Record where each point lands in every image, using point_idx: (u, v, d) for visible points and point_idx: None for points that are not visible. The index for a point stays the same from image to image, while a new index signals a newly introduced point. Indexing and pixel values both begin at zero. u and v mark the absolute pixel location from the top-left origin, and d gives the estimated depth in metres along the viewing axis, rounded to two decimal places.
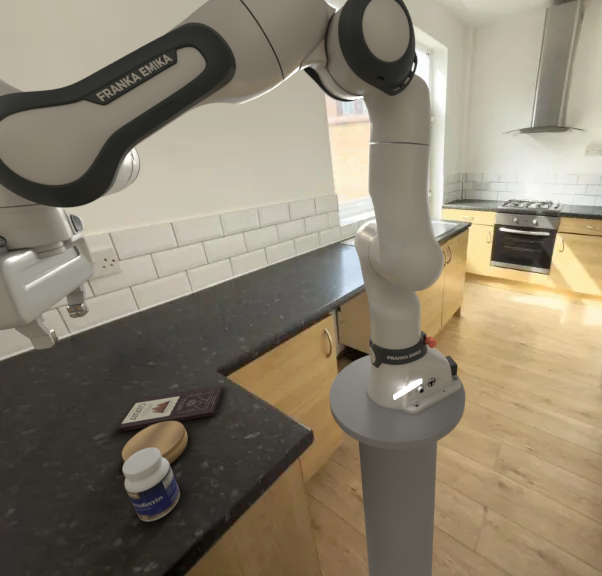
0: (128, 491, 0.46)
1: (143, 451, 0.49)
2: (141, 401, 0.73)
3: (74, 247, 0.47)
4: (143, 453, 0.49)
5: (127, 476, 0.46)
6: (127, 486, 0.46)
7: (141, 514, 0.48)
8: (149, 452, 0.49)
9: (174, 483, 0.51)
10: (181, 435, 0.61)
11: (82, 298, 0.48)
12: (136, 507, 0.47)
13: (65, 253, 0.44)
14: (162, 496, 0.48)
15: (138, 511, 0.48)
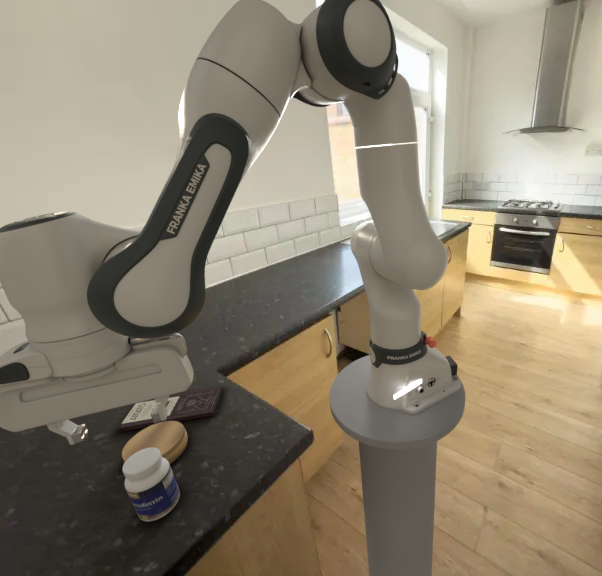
0: (128, 491, 0.46)
1: (143, 451, 0.49)
2: None
3: None
4: (143, 453, 0.49)
5: (127, 476, 0.46)
6: (127, 486, 0.46)
7: (141, 514, 0.48)
8: (149, 452, 0.49)
9: (174, 483, 0.51)
10: (181, 435, 0.61)
11: (72, 422, 0.43)
12: (136, 507, 0.47)
13: None
14: (162, 496, 0.48)
15: (138, 511, 0.48)
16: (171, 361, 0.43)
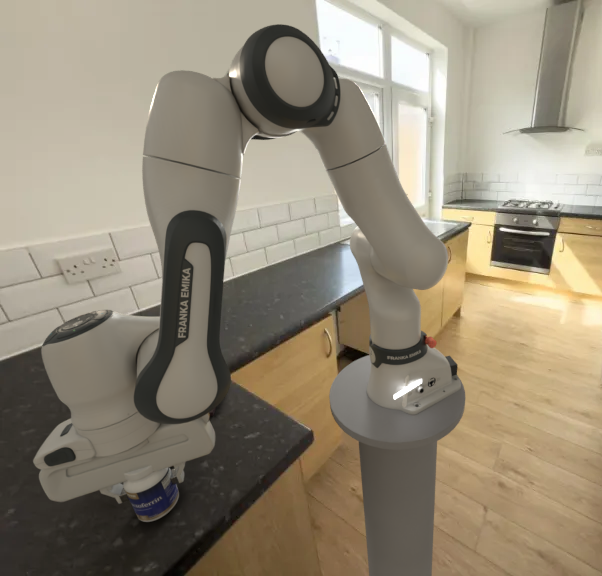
0: (127, 492, 0.46)
1: None
2: None
3: None
4: None
5: (126, 476, 0.46)
6: (126, 486, 0.46)
7: (140, 514, 0.48)
8: None
9: None
10: None
11: (119, 483, 0.48)
12: (135, 507, 0.47)
13: None
14: (161, 496, 0.48)
15: (137, 511, 0.48)
16: (196, 430, 0.48)
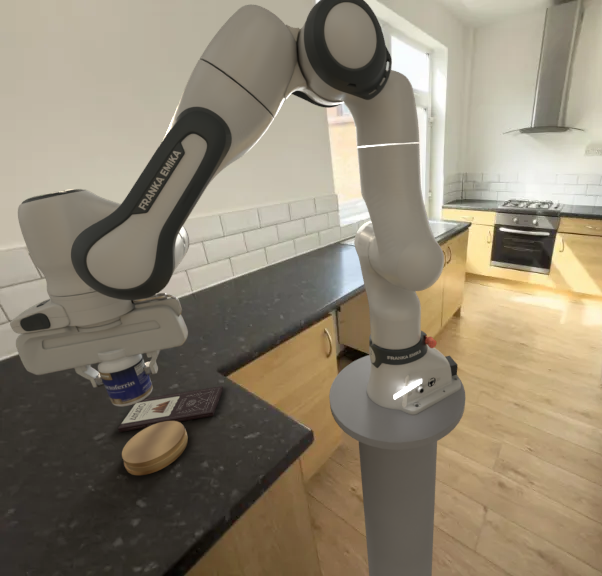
0: (101, 372, 0.49)
1: None
2: (141, 401, 0.73)
3: None
4: None
5: (100, 356, 0.48)
6: (100, 367, 0.49)
7: (114, 398, 0.51)
8: None
9: None
10: (181, 435, 0.61)
11: (94, 369, 0.51)
12: (109, 390, 0.50)
13: None
14: (134, 382, 0.51)
15: (111, 395, 0.51)
16: (168, 318, 0.51)
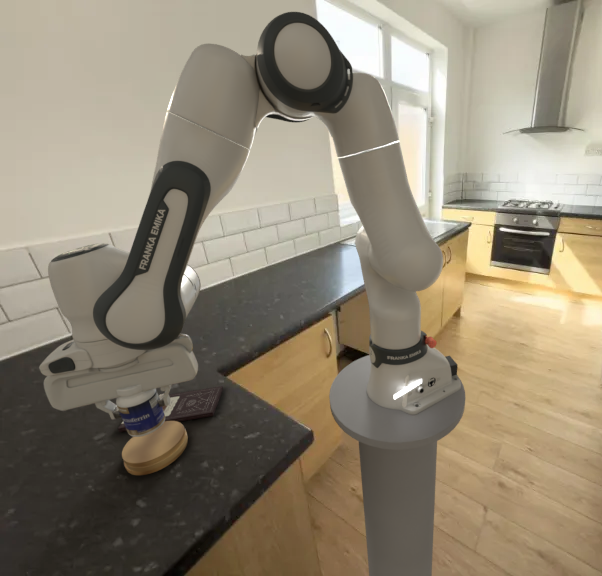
0: (119, 406, 0.53)
1: None
2: None
3: None
4: None
5: (118, 392, 0.53)
6: (118, 402, 0.53)
7: (130, 429, 0.55)
8: None
9: None
10: (181, 435, 0.61)
11: (112, 402, 0.55)
12: (126, 422, 0.54)
13: None
14: (149, 414, 0.55)
15: (128, 426, 0.55)
16: (180, 356, 0.55)
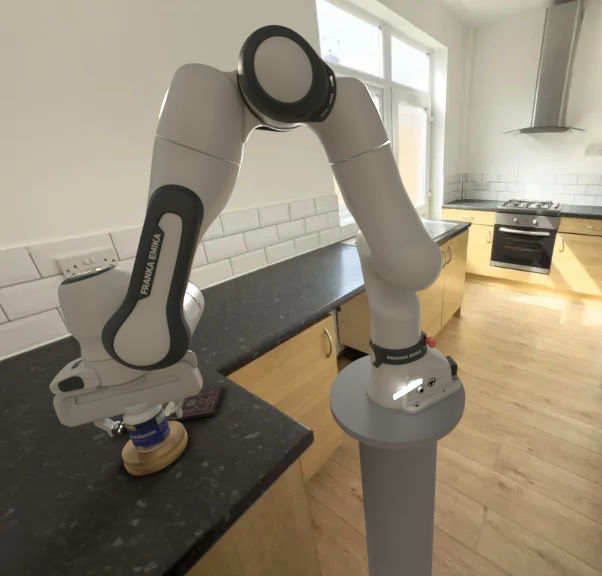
0: (126, 424, 0.55)
1: None
2: None
3: None
4: None
5: (125, 410, 0.54)
6: (125, 419, 0.55)
7: (137, 445, 0.56)
8: None
9: (166, 422, 0.59)
10: (181, 435, 0.61)
11: (110, 420, 0.56)
12: (133, 439, 0.56)
13: None
14: (155, 430, 0.57)
15: (135, 442, 0.56)
16: (186, 372, 0.56)
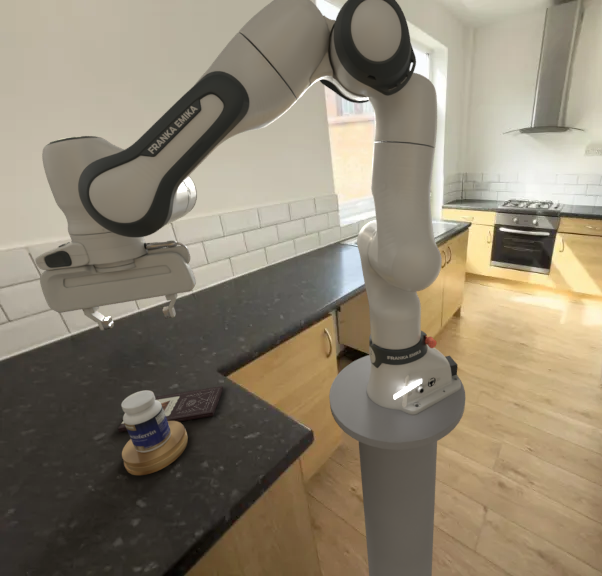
0: (126, 424, 0.55)
1: (139, 393, 0.57)
2: None
3: None
4: (139, 394, 0.57)
5: (125, 410, 0.54)
6: (125, 419, 0.55)
7: (137, 445, 0.56)
8: (144, 393, 0.57)
9: (166, 422, 0.59)
10: (181, 435, 0.61)
11: (101, 314, 0.55)
12: (133, 439, 0.56)
13: None
14: (155, 430, 0.57)
15: (135, 442, 0.56)
16: (178, 264, 0.55)
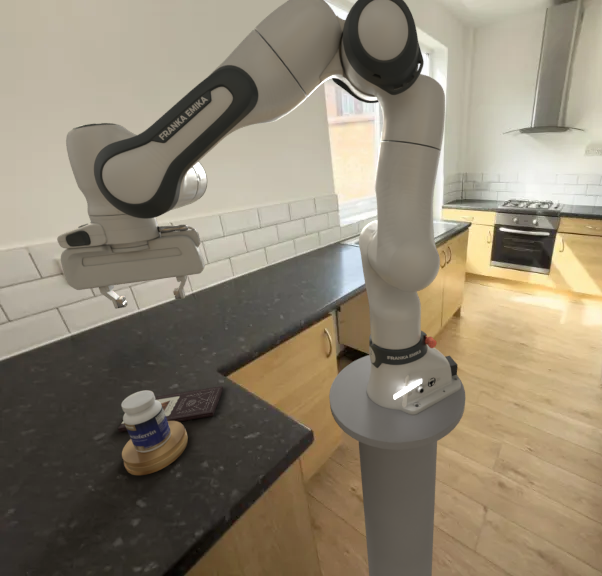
0: (126, 424, 0.55)
1: (139, 393, 0.57)
2: None
3: None
4: (139, 394, 0.57)
5: (125, 410, 0.54)
6: (125, 419, 0.55)
7: (137, 445, 0.56)
8: (144, 393, 0.57)
9: (166, 422, 0.59)
10: (181, 435, 0.61)
11: (115, 293, 0.58)
12: (133, 439, 0.56)
13: None
14: (155, 430, 0.57)
15: (135, 442, 0.56)
16: (188, 246, 0.58)
